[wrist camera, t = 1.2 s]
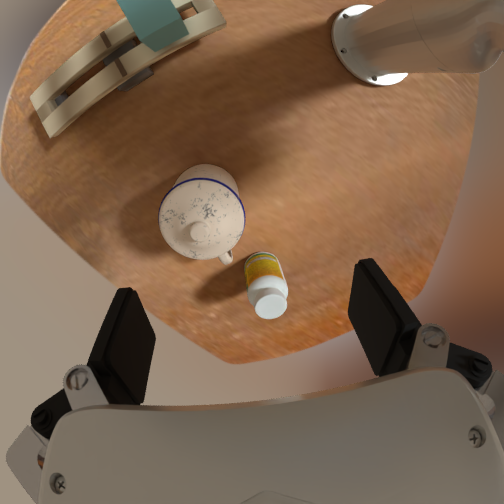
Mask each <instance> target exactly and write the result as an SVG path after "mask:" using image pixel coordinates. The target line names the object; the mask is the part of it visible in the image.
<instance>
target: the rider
mask: <svg viewBox="0 0 504 504" xmlns="http://www.w3.org/2000/svg"><path fill="white" fill-rule="evenodd" d="M117 2H118V4H119V5H120V7H121V9H122V11H123V12H124V14H125V16H126V18H127V19H128V21H129V23H130V25H131V26H132V28H133V30H134V32H135V33H136V35H137V37H138V39H139V40H140V41H141V42H142V43H144V44H145V45H146V46H148V47H149V48H150V49H152V50H153V51H154V52H157V51H158V50H160V49H162V48H164V47H165V46H167V45H169V44H171V43H173V42H175V41H177V40H179V39H181V38H183V37H185V36H187V35H189V32H188V30H187V28H186V26H185V24H184V22H183V20H182V17H181V16H180V14H179V13H178V11H177V9H176V8H175V6H174V5H173V3H172V1H171V0H117Z"/></svg>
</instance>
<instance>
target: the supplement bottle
mask: <svg viewBox="0 0 504 504" xmlns="http://www.w3.org/2000/svg"><path fill="white" fill-rule="evenodd" d="M244 273H245V280H246V288H247V295H248V299H249V301H250V303H251V304H252V305H253V306H254V308H255V311H256V313H257V315H258V316H260V317H261V318H265V319H273V318H277V317H279V316H280V315H282V314H283V313H284V312H285V310H286V308H287V302H286V298H287V296H288V287H287V284H286V281H285V278H284V275H283V272H282V269H281V266H280V263H279V261H278V259H277V258H276V257H275V256H274V255H273V254H271V253H268V252H257V253H255V254H253V255H251V256H250V257H249V258H248V259H247V260H246V263H245V266H244Z"/></svg>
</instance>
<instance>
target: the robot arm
mask: <svg viewBox="0 0 504 504" xmlns="http://www.w3.org/2000/svg"><path fill="white" fill-rule="evenodd" d="M343 17H344V18H343ZM331 38H332V43H333V47H334V50H335V52H336V54H337V56H338V58H339V59H340V61H341V62H342V64H343V65H344V66H345V67H346V68H347V70H349V71H350V72H351V73H352V74H353V75H354V76H356V77H357V78H359V79H360V80H362V81H365V82H367V83H369V84H373V85H380V86H386V85H393V84H396V83H398V82H400V81H402V80H403V79H404V78H405V77H406V76H407V74H408V73H470V74H473V73H480V72H484V71H486V70H488V69H489V68H490V67H492V66H493V65H494V64H495V62H496V61H497V60H498V58H499V56H500V55H501V53H502V51H503V52H504V0H386V1H384V2H382V3H379V4H377V5H375V6H370V5H364V4H362V5H353V6H350V7H348V8H346V9H344V10H343V11H341V12H340V13H339V14H338V15H337V17H336V18H335V20H334V22H333V24H332V30H331ZM341 51H342V52H343V53H342V52H341ZM372 79H373V80H372ZM348 316H349V319H350V321H351V323H352V325H353V327H354V329H355V332H356V334H357V336H358V338H359V340H360V342H361V345H362V347H363V349H364V351H365V353H366V356H367V358H368V360H369V362H370V364H371V367H372V369H373V372H374V374H375V375H376V376H377V375H379V377H378V378H374V379H371V380H367V381H363V382H359V383H354V384H350V385H346V386H342V387H337V388H333V389H329V390H324V391H318V392H313V393H308V394H302V395H296V396H290V397H283V398H276V399H269V400H261V401H253V402H242V403H231V404H215V405H193V406H147V405H140V403H143V402H144V397H145V392H146V386H147V381H148V375H149V370H150V365H151V360H152V355H153V350H154V346H155V341H156V337H155V333H154V331H153V329H152V326H151V324H150V322H149V320H148V317H147V315H146V313H145V310H144V308H143V306H142V303H141V301H140V299H139V296H138V294H137V292H136V291H135V290H133V289H132V288H130V287H128V288H119V289H118V290H117V292H116V294H115V296H114V298H113V301H112V303H111V305H110V308H109V310H108V312H107V314H106V317H105V319H104V321H103V324H102V326H101V329H100V331H99V333H98V336H97V338H96V341H95V343H94V346H93V349H92V352H91V354H90V357H89V359H88V363H87V365H76V366H74V367H72V368H71V369H69V371H68V372H67V373H66V374H65V376H64V379H63V386H64V389H62V390H61V391H59V392H58V393H56V394H55V395H53V396H52V397H51V398H49V399H48V400H46V401H45V402H44V403H42V404H40V405H39V406H38V407H36V408H35V410H34V411H33V413H32V416H31V424H32V425H31V426H27V427H26V428H25V429H24V430H23V431H22V433H21V434H20V435H19V436H18V438H17V439H16V440H15V441H14V443H13V444H12V445H11V447H10V448H9V449H8V451H7V454H6V461H7V464H8V466H9V467H10V469H11V471H12V472H13V473H14V475H15V476H16V478H17V479H18V481H19V482H20V483H21V485H22V486H23V488H24V489H25V490H26V492H27V493H28V494H29V495H30V497H31V498H32V499H33V500H34V502H35V503H36V504H504V375H503V374H502V373H500V372H499V371H498V370H496V371H495V372H494V371H492V365H491V362H490V361H489V360H488V358H487V357H486V356H484V355H482V354H480V353H478V352H475V351H472V350H469V349H466V348H464V347H461V346H458V345H455V344H453V343H450V339H449V335H448V333H447V331H446V330H445V329H444V328H443V327H441V326H439V325H437V324H432V323H429V324H425V325H421V323H420V322H419V320H418V319H417V317H416V316H415V314H414V313H413V312H412V310H411V309H410V307H409V306H408V304H407V303H406V301H405V300H404V299H403V297H402V296H401V294H400V293H399V292H398V290H397V289H396V288H395V287H394V286H393V285H392V283H391V282H390V280H389V279H388V278H387V276H386V275H385V274H384V272H383V271H382V270H381V268H380V267H379V266H378V265H377V263H376V262H375V261H374V259H372V258H368V259H362V260H359V262H358V264H355V268H354V275H353V282H352V288H351V295H350V301H349V307H348Z"/></svg>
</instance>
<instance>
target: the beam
mask: <svg viewBox="0 0 504 504" xmlns="http://www.w3.org/2000/svg"><path fill="white" fill-rule="evenodd" d="M171 1H172V3H173V5H174V6H175V8H176V9H177V11H178V13H181V12H183V11H185V10H187V9H189V8H192V7H193V8H194V9H195V11H196V12H197V14H196V15H194V16H192V17H190V18H187V19H185V20H183V22H184V24H185V26H186V28H187V30H188V32H189V35H187V36H185V37H183V38H181V39H179V40H177V41H175V42H173V43H171V44H169V45H167V46H165V47H164V48H162V49H160V50H158V51H157V52H154V51H153V50H152V49H150V48H149V47H148V46H146V45H145V44H144V43H141V44H139V45H137V43H136V41H135V40H134V38H135V37H137V35H136V33H135V32H134V30H133V28H132V26H131V25H130V23H129V21H128V19H127V18H126V17H125V18H123V19H122V20H120V21H119V22H117V23H116V24H114V25H113V26H111V27H110V28H108V29H107V30H105V31H103V32H102V33H100V35H98V36H97V37H96V38H94V39H93V40H92V41H90V42H89V43H88V44H86V45H85V46H84V47H83V48H81V49H80V50H79V51H78V52H76V53H75V54H74V55H73V56H72V57H70V58H69V59H68V60H67V61H66V62H65V63H64V64H62V65H61V66H60V67H59V68H58V69H57V70H56V71H55V72H54V73H53V74H52V75H51V76H49V77H48V78H47V79H46V80H45V81H44V82H43V83H42V84H41V85H40V86H39V87H38V89H37V90H36V91H35V92H34V93H33V94H32V95H31V96H30V99H31V101H32V103H33V105H34V108H35V110H36V112H37V114H38V116H39V118H40V120H41V122H42V124H43V126H44V128H45V130H46V132H47V134H48V136H49V138H52V137H55V136H58V135H59V134H60V133H61V132H62V131H63V130H65V129H66V128H67V127H68V126H69V125H70V124H71V123H72V122H73V121H75V120H76V119H77V118H78V117H79V116H80V115H82V114H83V113H84V112H85V111H86V110H88V109H89V108H90V107H91V106H93V105H94V104H95V103H96V102H98V101H99V100H100V99H102V98H103V97H104V96H105V95H107V94H108V93H110V92H111V91H112V90H114V89H115V88H116V87H117V88H118V90H120V91H128V90H130V89H131V88H133V87H134V86H136V85H137V84H139V83H140V82H142V81H143V80H145V79H147V78H148V77H150V76H151V75H153V74H154V73H153V72H152V70H151V68H150V65H152V64H153V63H155V62H157V61H158V60H160V59H162V58H164V57H165V56H167V55H169V54H171V53H173V52H174V51H176V50H178V49H180V48H182V47H184V46H186V45H188V44H190V43H192V42H194V41H196V40H198V39H200V38H203V37H205V36H207V35H209V34H211V33H214V32H216V31H218V30H221V29H223V28H226V21H225V19H224V17H223V16H222V14H221V12H220V11H219V9H218V8H217V6H216V5H215V3H214V1H213V0H171ZM101 60H103V62H104V64H105V66H106V67H105V68H104V69H103V70H101V71H100V72H99V73H97V74H96V75H95V76H93V77H92V78H91V79H90V80H88V81H87V82H86V83H85V84H83V85H82V86H81V87H80V88H79V89H77V90H76V91H75V92H74V93H73V94H72V95H71V96H69V97H68V95H67V93H66V91H65V90H66V89H67V88H68V87H69V86H70V85H71V84H73V83H74V82H75V81H76V80H77V79H79V78H80V77H81V76H82V75H83V74H85V73H86V72H87V71H88V70H90V69H91V68H92V67H93V66H95V65H96V64H97V63H99V62H100V61H101Z"/></svg>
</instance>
